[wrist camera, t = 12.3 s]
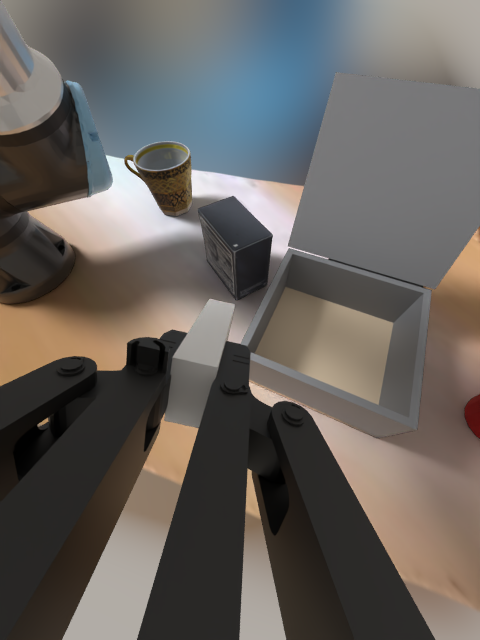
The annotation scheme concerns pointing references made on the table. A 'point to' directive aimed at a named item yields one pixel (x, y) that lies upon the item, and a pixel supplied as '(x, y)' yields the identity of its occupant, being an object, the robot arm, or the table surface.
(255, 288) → the small box
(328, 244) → the lid
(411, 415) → the grey open rectangular box
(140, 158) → the ceramic cup
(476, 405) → the plastic cup
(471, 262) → the table surface
